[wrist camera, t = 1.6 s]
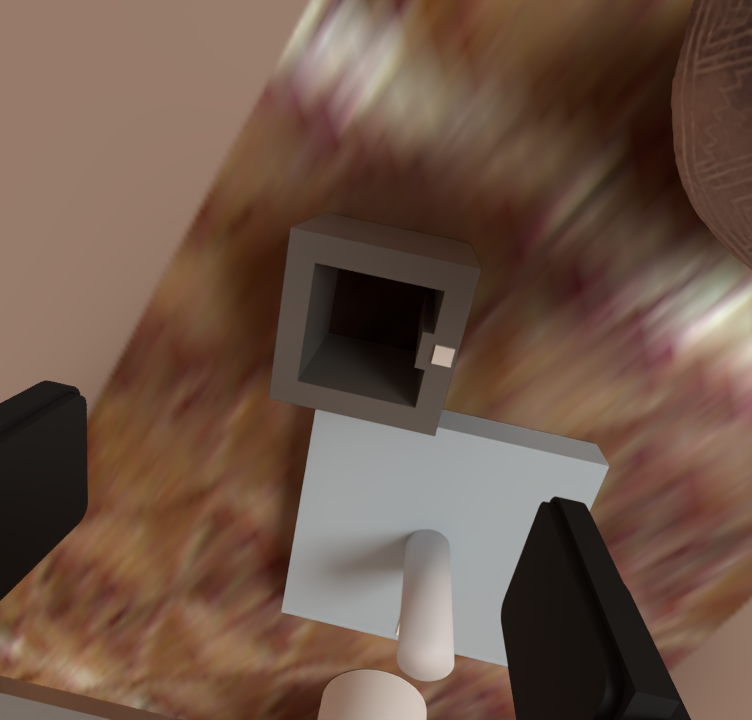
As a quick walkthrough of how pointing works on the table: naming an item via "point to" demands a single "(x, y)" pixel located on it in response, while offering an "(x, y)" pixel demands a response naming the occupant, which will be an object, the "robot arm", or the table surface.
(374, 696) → the cylindrical container
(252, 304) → the table surface
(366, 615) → the shaft base
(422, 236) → the square tunnel housing
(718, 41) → the clay figurine
